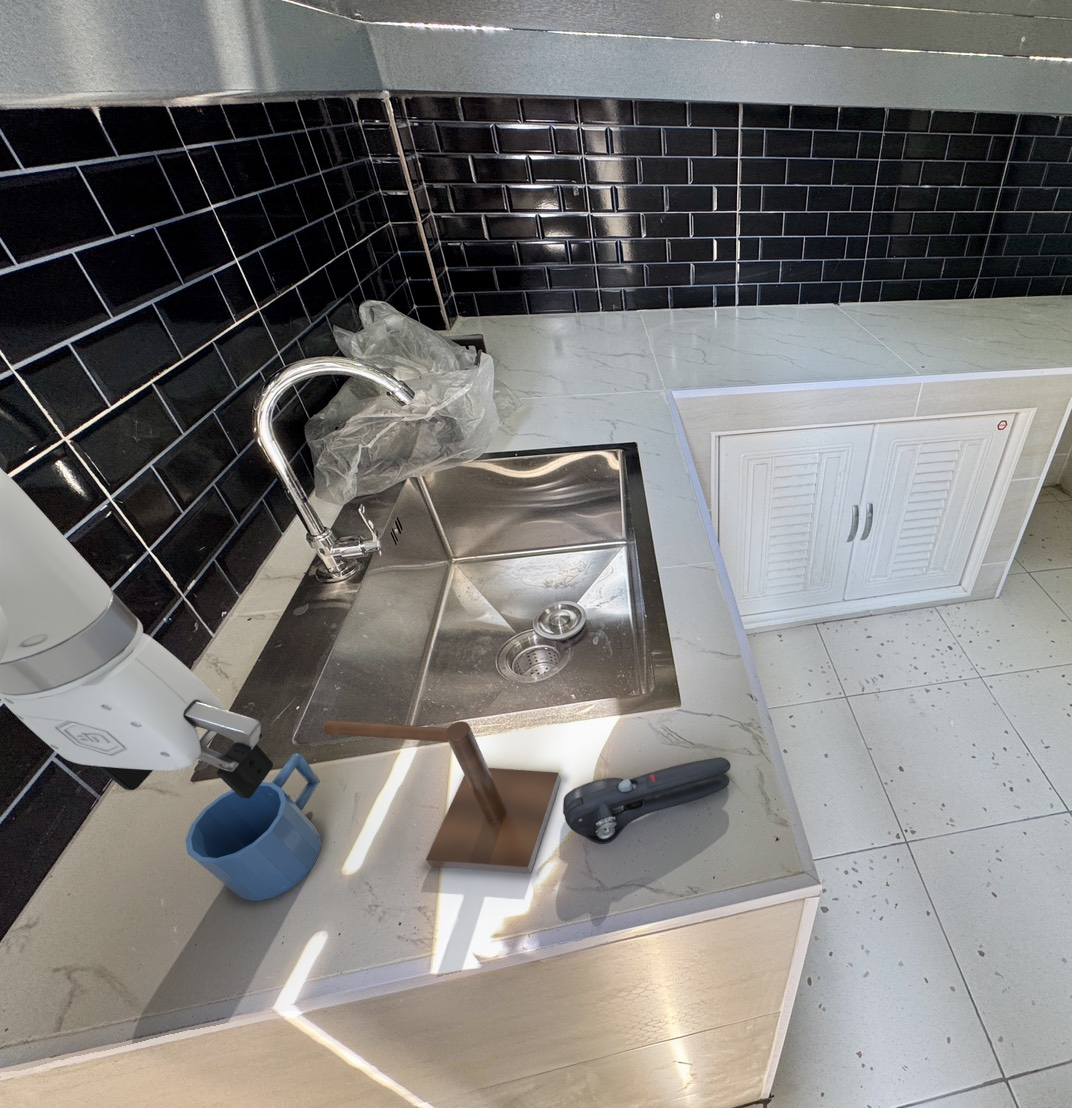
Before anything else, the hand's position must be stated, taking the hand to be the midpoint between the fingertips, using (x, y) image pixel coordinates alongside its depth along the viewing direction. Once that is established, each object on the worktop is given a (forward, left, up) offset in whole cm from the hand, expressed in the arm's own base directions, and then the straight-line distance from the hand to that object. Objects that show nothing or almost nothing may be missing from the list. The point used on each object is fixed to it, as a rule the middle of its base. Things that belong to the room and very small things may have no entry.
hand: (202, 777), depth 50 cm
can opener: (+8, -36, -14) cm, 39 cm away
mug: (+2, 0, -14) cm, 14 cm away
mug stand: (+5, -17, -14) cm, 22 cm away
